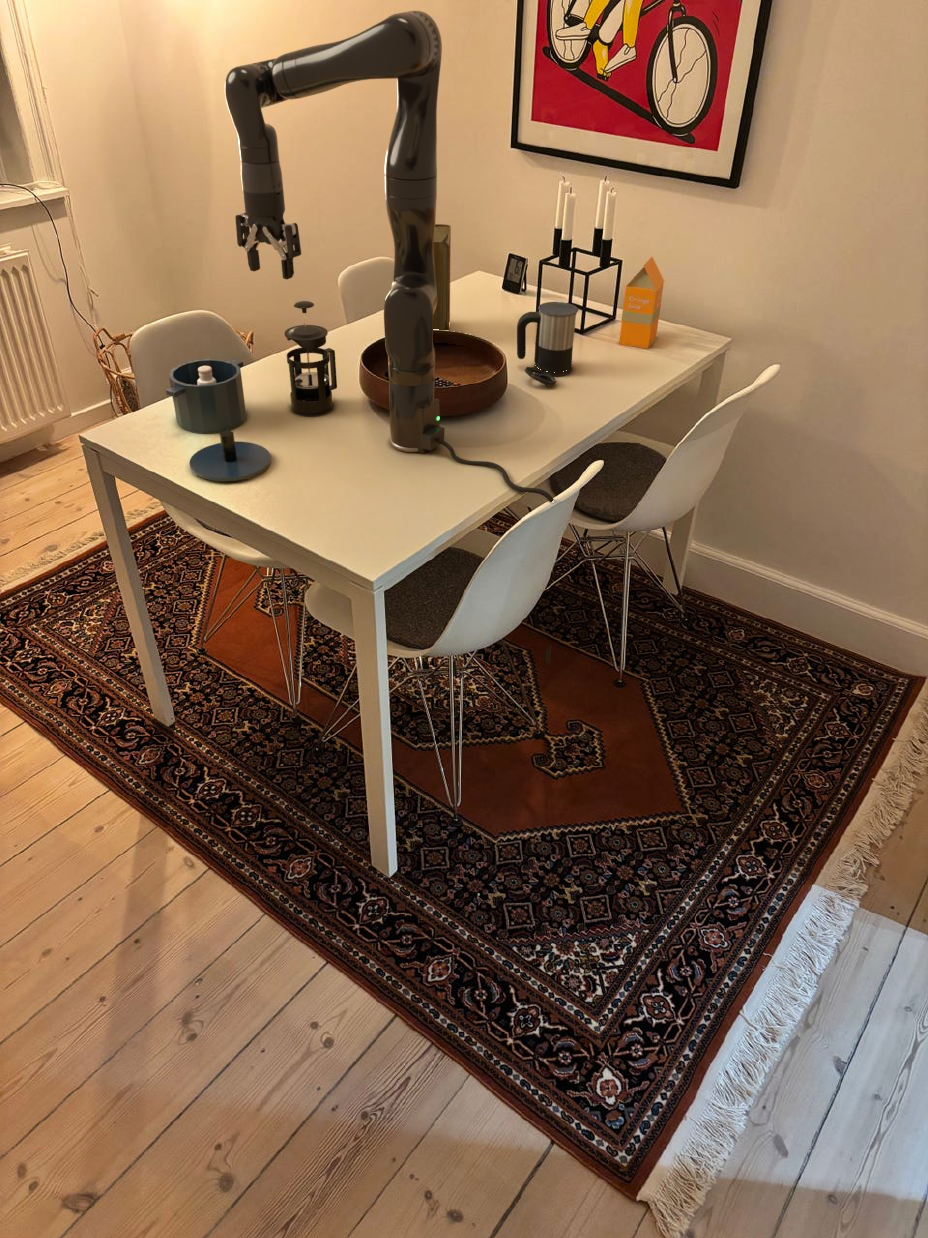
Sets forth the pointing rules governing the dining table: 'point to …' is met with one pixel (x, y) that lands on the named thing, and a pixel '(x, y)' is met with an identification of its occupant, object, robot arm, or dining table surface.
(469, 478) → the dining table surface
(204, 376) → the pepper shaker
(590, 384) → the dining table surface
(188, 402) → the pot
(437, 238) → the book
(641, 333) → the orange juice
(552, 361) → the milk frother
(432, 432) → the robot arm
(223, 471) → the lid
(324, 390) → the french press
